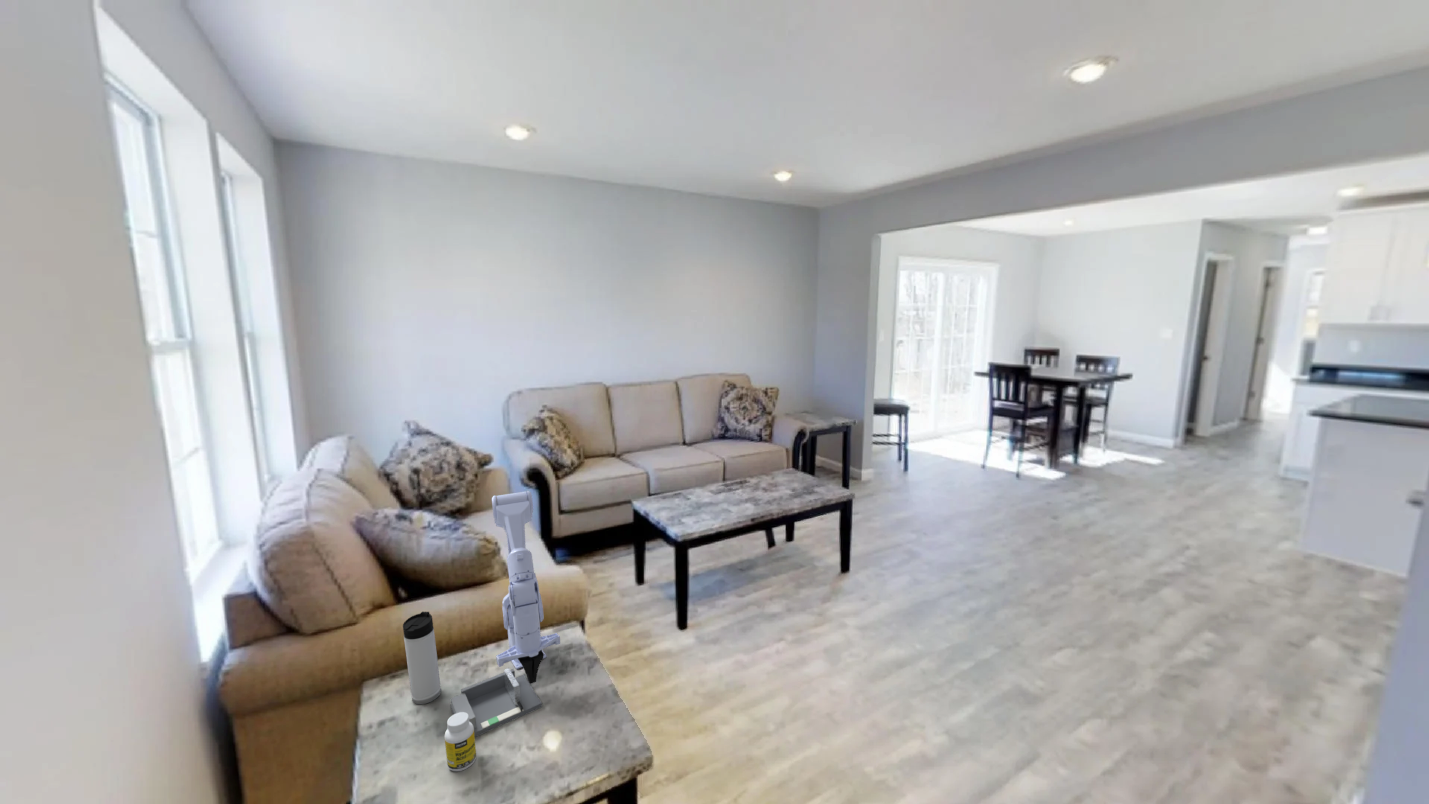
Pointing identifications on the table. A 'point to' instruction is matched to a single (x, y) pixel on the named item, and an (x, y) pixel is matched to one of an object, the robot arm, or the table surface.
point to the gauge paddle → (512, 687)
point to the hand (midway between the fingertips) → (531, 680)
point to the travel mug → (422, 658)
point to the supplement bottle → (460, 742)
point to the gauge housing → (494, 702)
